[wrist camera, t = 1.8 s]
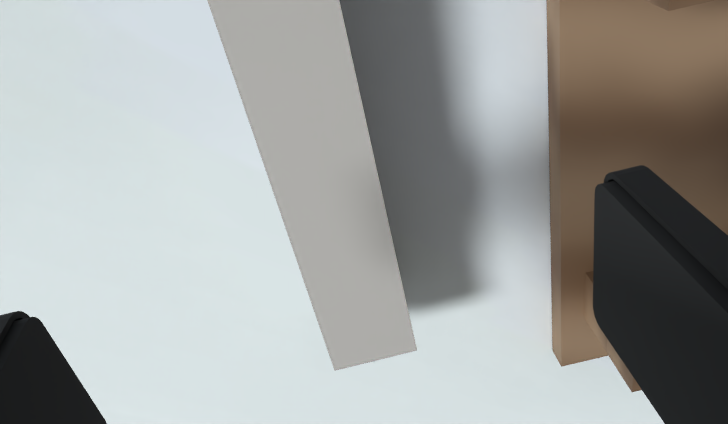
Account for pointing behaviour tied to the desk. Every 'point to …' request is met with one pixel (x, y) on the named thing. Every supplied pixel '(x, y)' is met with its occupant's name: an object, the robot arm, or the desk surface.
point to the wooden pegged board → (628, 131)
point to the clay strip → (320, 168)
